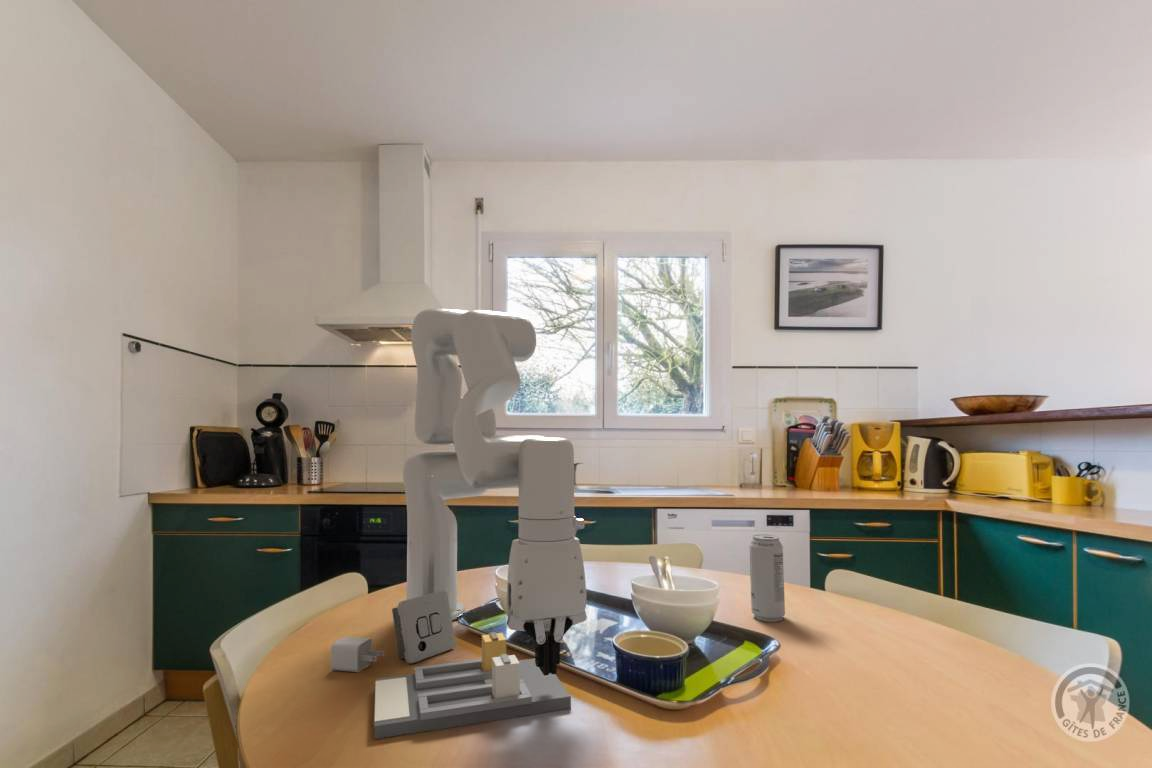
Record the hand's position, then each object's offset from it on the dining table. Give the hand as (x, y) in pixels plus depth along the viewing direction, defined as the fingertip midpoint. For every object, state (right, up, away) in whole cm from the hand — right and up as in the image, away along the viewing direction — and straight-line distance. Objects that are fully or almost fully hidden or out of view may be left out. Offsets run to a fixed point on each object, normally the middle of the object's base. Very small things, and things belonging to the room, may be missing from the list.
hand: (547, 670), depth 79 cm
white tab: (-5, -2, -2) cm, 6 cm away
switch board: (-10, -4, +1) cm, 11 cm away
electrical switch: (-21, -6, +18) cm, 28 cm away
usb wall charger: (-29, -6, +12) cm, 32 cm away
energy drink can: (+40, -6, +34) cm, 53 cm away
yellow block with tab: (-8, -3, +7) cm, 11 cm away
